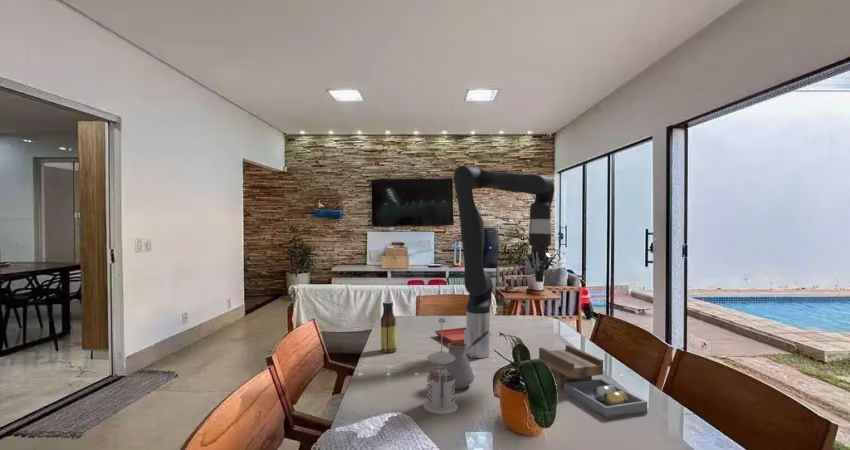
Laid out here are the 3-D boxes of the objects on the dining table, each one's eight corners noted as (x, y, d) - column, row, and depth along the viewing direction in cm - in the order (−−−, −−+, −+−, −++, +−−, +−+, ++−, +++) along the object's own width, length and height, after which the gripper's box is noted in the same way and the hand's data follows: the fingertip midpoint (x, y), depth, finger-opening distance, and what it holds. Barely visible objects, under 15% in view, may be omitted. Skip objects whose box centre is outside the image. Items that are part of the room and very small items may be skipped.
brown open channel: (570, 394, 125) (571, 363, 125) (538, 375, 141) (539, 347, 141) (602, 390, 128) (603, 360, 128) (568, 371, 144) (568, 345, 144)
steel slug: (598, 384, 118) (591, 389, 121) (605, 398, 116) (597, 403, 119) (612, 382, 120) (604, 387, 123) (619, 396, 118) (611, 401, 120)
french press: (456, 398, 121) (457, 314, 121) (460, 417, 109) (462, 323, 109) (422, 398, 121) (424, 314, 121) (424, 417, 109) (425, 323, 109)
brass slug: (607, 389, 115) (601, 398, 117) (616, 403, 112) (609, 411, 114) (621, 388, 116) (615, 396, 119) (630, 400, 113) (623, 409, 115)
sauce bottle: (397, 349, 168) (398, 300, 168) (395, 353, 162) (395, 303, 162) (382, 348, 169) (382, 300, 169) (378, 353, 163) (379, 303, 163)
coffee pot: (455, 395, 124) (456, 345, 124) (431, 383, 132) (431, 337, 132) (501, 378, 137) (502, 334, 137) (476, 369, 146) (477, 327, 146)
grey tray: (606, 419, 109) (606, 408, 109) (563, 392, 126) (563, 383, 126) (647, 412, 113) (647, 401, 113) (600, 387, 131) (600, 378, 131)
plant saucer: (433, 337, 188) (433, 330, 188) (467, 333, 196) (467, 326, 196) (452, 348, 172) (452, 340, 172) (488, 343, 179) (488, 336, 179)
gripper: (520, 231, 148) (519, 279, 148) (541, 232, 136) (540, 284, 136) (538, 232, 151) (537, 279, 151) (560, 232, 138) (560, 284, 138)
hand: (539, 281), depth 143 cm, fingers closed
